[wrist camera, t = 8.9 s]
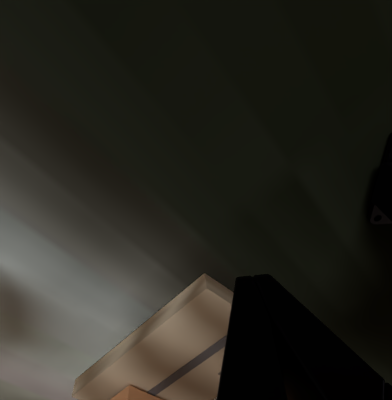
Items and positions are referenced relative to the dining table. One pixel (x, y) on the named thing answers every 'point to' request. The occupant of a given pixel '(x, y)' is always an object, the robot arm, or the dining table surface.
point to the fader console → (168, 350)
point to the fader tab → (133, 395)
